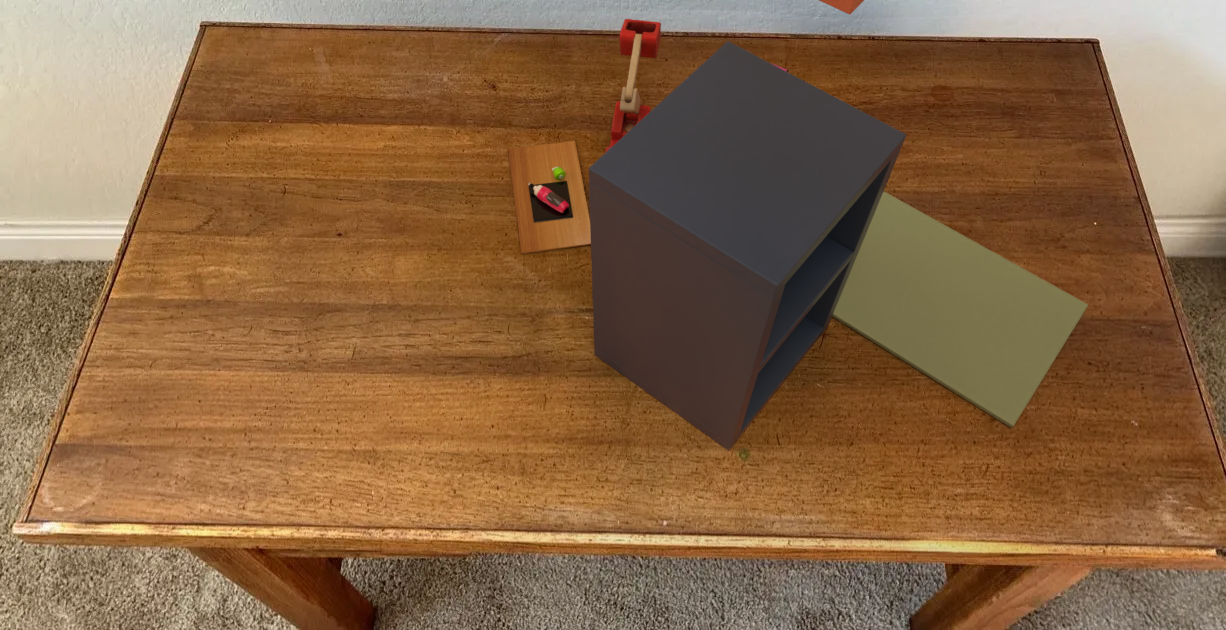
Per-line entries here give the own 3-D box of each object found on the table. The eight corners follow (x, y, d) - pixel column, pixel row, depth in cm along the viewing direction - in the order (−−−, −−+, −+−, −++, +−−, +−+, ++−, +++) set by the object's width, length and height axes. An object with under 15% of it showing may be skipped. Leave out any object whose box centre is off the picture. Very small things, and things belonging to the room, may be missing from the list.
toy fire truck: (599, 202, 77) (598, 124, 68) (623, 94, 84) (624, 11, 76) (637, 207, 76) (640, 129, 68) (657, 98, 84) (662, 15, 75)
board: (575, 142, 80) (574, 130, 79) (594, 244, 74) (593, 234, 73) (508, 150, 80) (506, 139, 79) (521, 254, 74) (519, 243, 72)
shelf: (828, 326, 70) (907, 134, 51) (728, 451, 64) (777, 285, 45) (698, 244, 74) (727, 40, 56) (594, 354, 68) (588, 167, 50)
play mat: (1086, 307, 71) (1088, 304, 71) (1011, 428, 65) (1013, 426, 65) (873, 188, 78) (874, 185, 77) (788, 289, 72) (788, 286, 71)
